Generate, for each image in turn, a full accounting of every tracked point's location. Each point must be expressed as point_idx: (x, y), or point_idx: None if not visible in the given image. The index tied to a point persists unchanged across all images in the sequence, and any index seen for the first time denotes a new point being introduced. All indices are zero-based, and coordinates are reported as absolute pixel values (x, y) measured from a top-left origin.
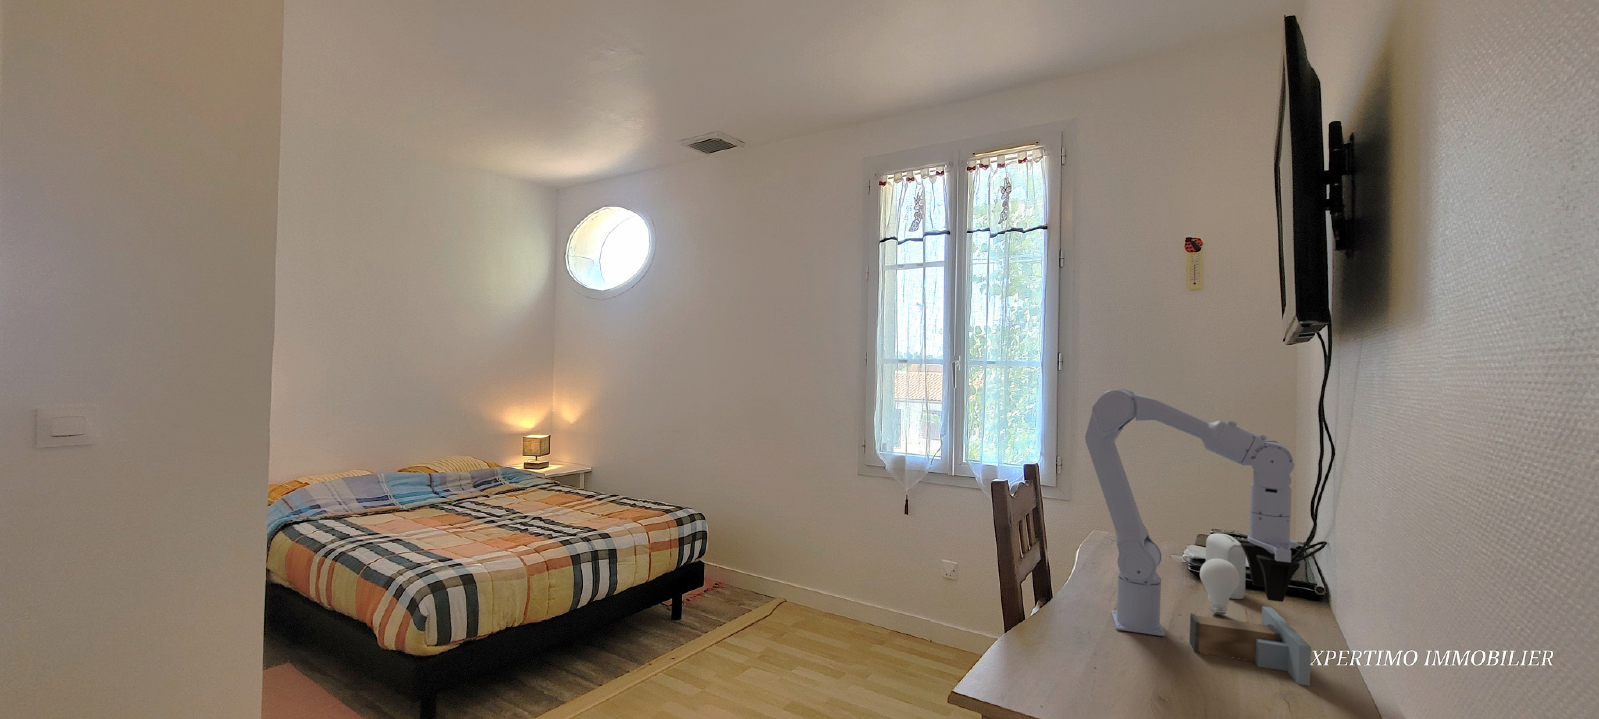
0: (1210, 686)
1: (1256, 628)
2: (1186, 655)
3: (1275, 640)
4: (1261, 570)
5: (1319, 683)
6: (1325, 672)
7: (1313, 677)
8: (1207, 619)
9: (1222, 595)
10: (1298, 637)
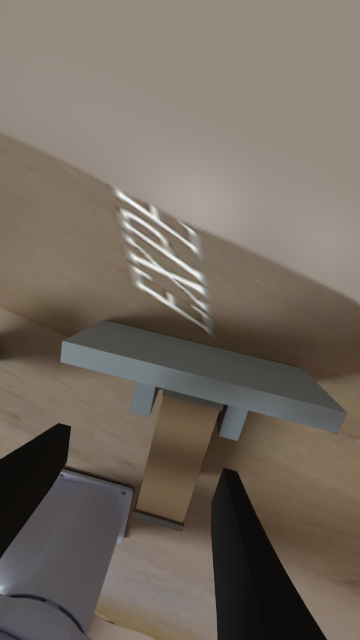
0: (312, 511)
1: (190, 429)
2: (201, 489)
3: None
4: (13, 505)
5: (289, 344)
6: (239, 302)
7: (264, 339)
8: (155, 497)
9: None
10: (284, 404)
